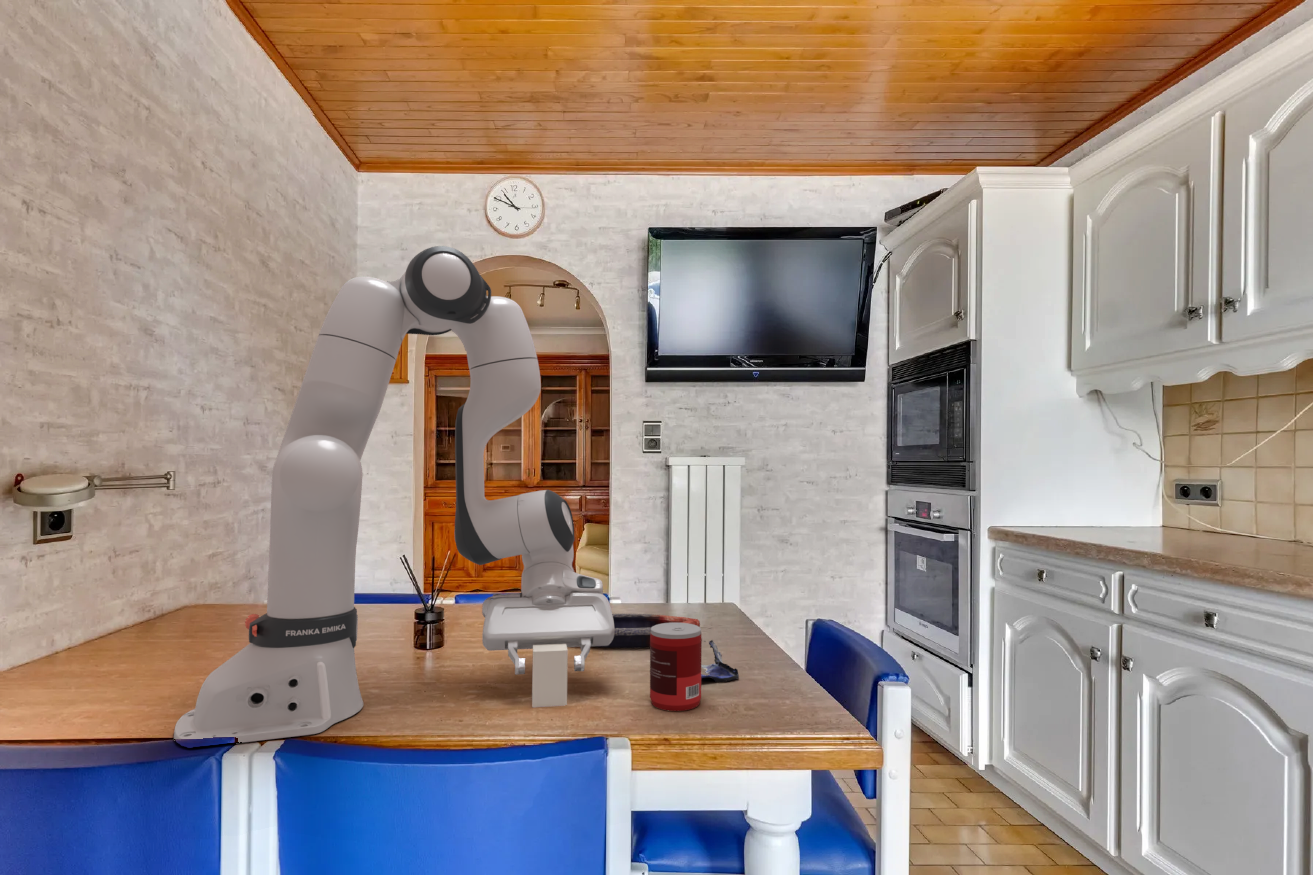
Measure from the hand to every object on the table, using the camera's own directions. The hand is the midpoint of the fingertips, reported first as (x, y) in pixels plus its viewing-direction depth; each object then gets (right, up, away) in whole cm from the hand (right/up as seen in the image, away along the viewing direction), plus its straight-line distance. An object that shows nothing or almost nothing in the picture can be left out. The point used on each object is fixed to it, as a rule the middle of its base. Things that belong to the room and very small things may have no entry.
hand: (550, 670), depth 100 cm
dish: (+9, -7, +37) cm, 39 cm away
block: (0, -5, 0) cm, 5 cm away
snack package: (+24, -6, +15) cm, 29 cm away
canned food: (+19, -5, 0) cm, 19 cm away
